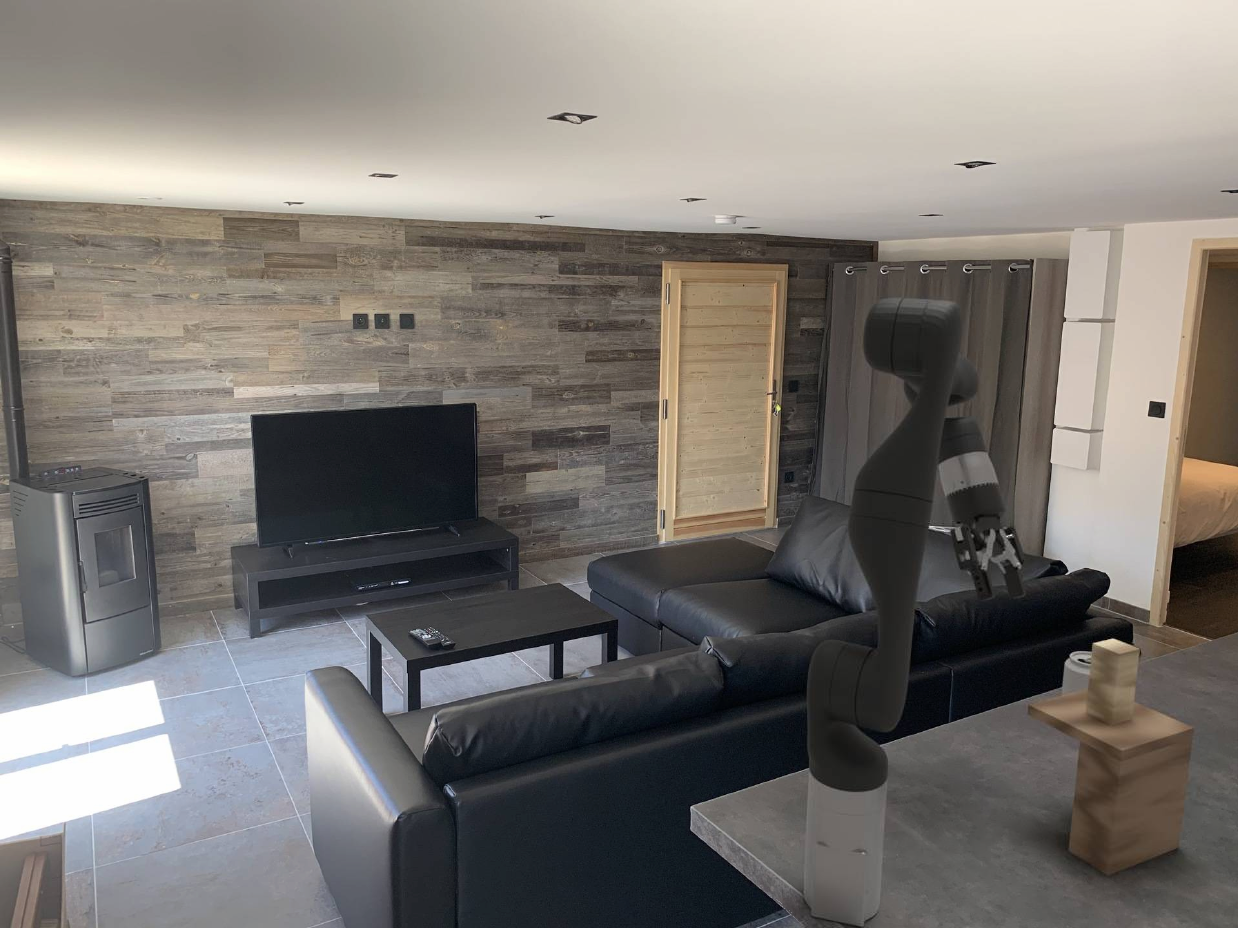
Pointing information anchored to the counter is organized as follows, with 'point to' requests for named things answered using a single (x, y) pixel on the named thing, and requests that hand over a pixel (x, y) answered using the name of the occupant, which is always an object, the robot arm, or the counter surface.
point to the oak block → (1112, 681)
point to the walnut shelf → (1123, 781)
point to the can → (1076, 672)
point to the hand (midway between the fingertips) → (1003, 598)
